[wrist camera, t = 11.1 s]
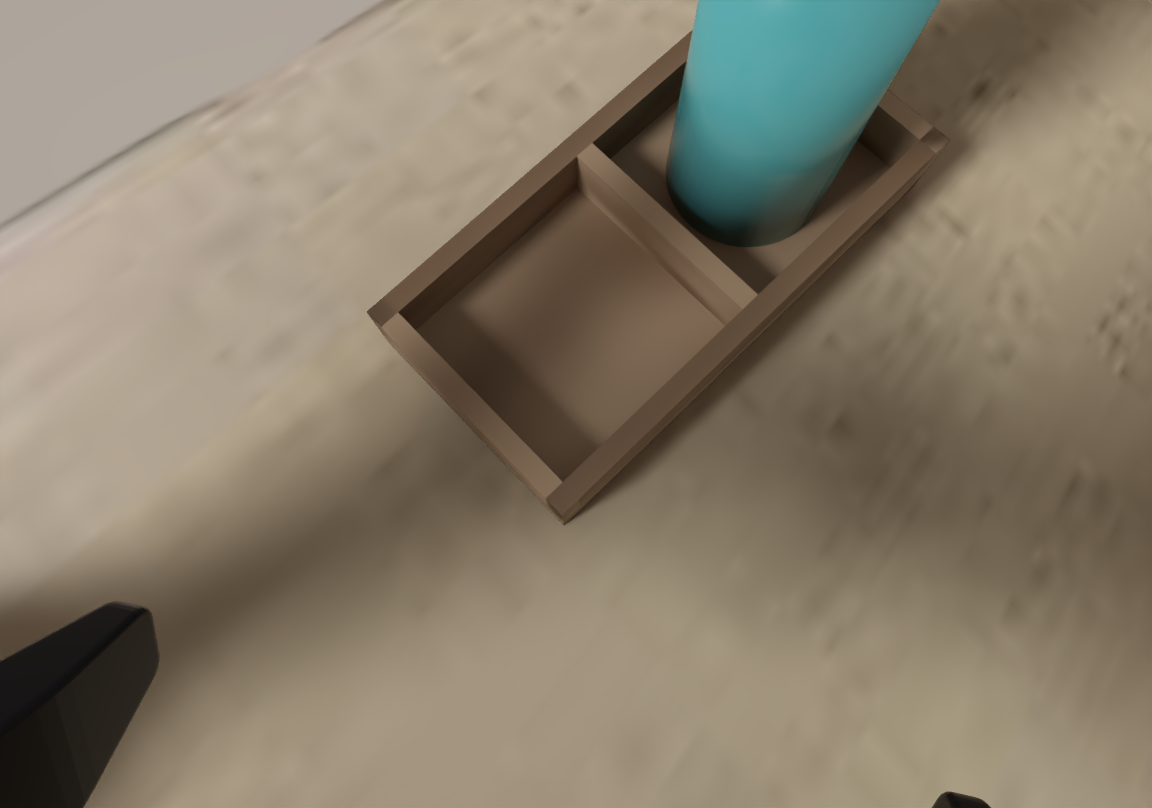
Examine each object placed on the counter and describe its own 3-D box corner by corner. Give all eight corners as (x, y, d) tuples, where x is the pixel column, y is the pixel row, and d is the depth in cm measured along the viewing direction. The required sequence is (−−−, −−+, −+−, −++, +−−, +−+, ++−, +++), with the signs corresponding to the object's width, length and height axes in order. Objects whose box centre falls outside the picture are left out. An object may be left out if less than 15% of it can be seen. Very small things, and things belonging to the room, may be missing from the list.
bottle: (848, 147, 25) (1180, -422, 11) (781, 274, 24) (1057, -181, 10) (709, 81, 26) (863, -535, 12) (637, 202, 25) (715, -319, 11)
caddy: (913, 185, 26) (949, 139, 23) (564, 525, 23) (562, 515, 21) (736, 36, 27) (752, -23, 24) (388, 342, 24) (366, 311, 22)
